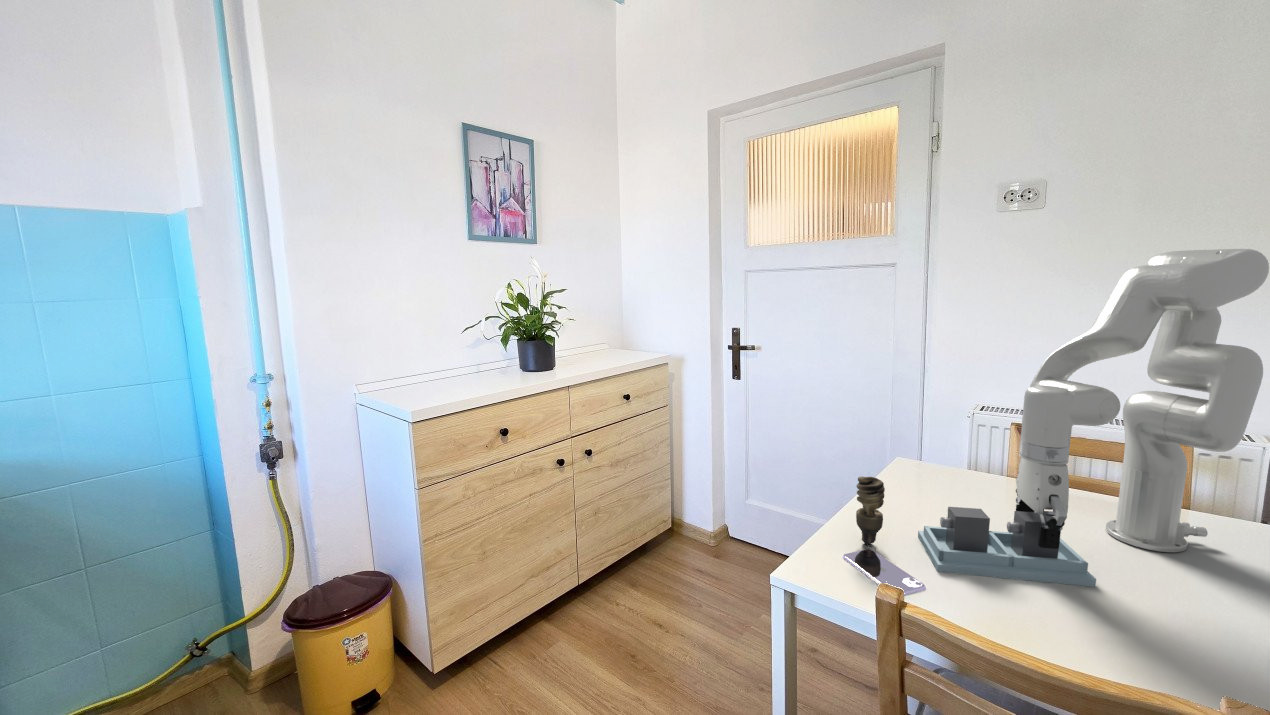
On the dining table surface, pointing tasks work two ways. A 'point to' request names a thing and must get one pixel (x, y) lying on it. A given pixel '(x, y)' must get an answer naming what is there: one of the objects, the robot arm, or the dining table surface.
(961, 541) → the docked twin block
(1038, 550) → the plug block
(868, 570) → the mobile phone
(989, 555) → the tray
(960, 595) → the dining table surface
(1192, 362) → the robot arm
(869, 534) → the light bulb
